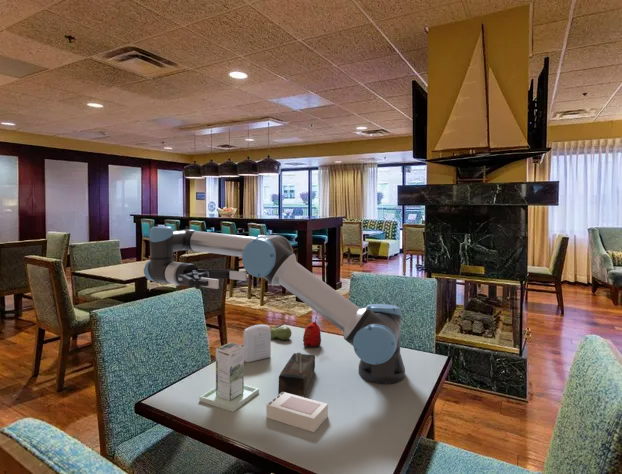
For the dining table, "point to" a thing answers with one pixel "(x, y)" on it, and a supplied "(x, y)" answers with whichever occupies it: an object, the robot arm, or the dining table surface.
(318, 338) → the red clay folk toy
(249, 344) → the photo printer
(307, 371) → the beverage carton
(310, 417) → the pink-topped slotted block
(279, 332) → the pear
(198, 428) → the dining table surface
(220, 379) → the syrup box
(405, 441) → the dining table surface
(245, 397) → the tray
